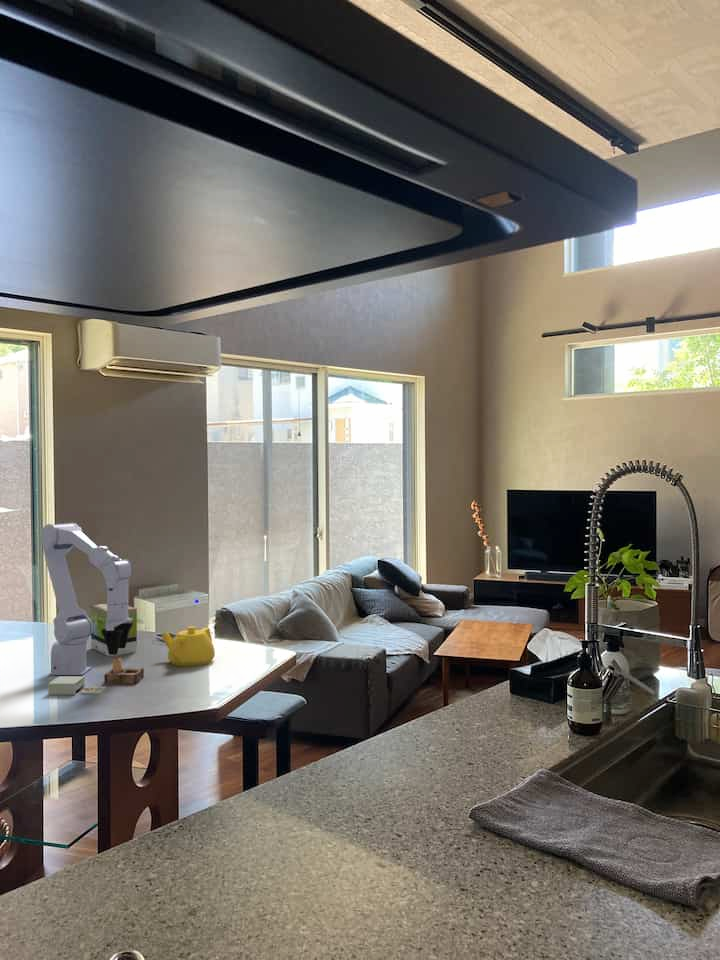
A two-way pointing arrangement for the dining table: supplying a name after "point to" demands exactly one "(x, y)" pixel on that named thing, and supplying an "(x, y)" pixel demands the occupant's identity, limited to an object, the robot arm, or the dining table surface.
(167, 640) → the teapot
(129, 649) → the tea box
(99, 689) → the tile
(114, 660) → the pin
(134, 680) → the wooden compartment tray
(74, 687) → the cover
